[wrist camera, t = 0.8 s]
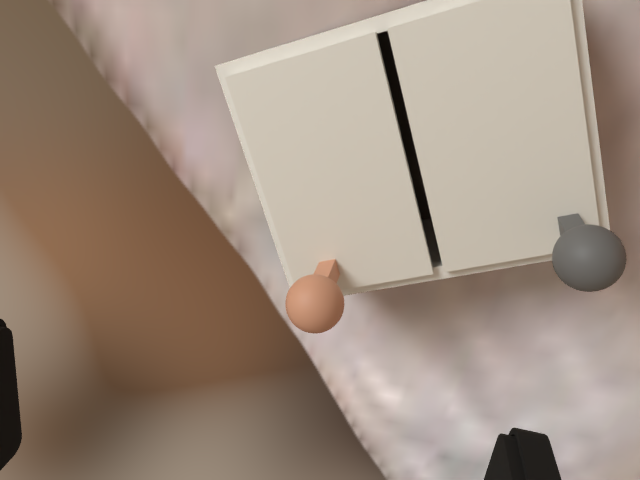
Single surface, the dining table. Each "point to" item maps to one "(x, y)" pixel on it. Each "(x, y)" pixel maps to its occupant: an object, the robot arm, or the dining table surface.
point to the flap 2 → (505, 138)
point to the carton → (434, 4)
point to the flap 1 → (332, 174)
